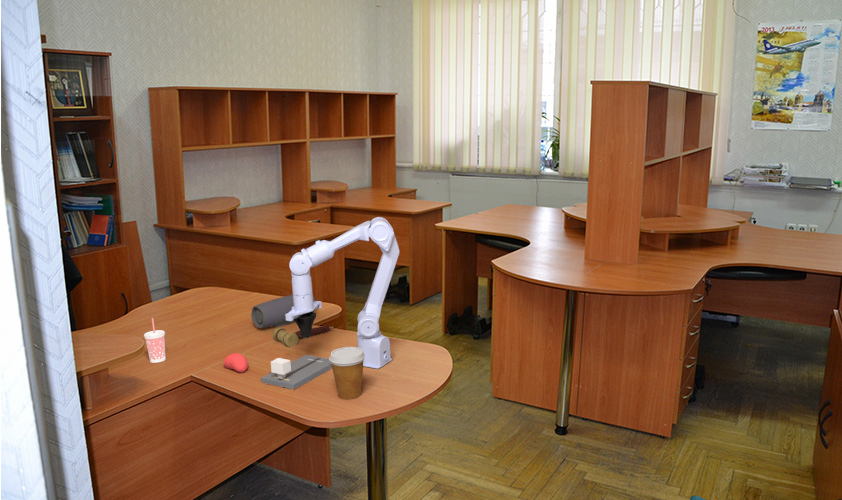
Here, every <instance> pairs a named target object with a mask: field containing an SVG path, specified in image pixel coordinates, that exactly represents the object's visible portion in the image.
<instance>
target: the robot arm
mask: <svg viewBox="0 0 842 500" xmlns="http://www.w3.org/2000/svg"><path fill="white" fill-rule="evenodd" d="M370 239H371V240H372V242H374V243H375V244H377V246H379V248H380V251H381V253H382V255H381V257H380V261H379V263H378V266H377V269H376V272H375V276H374V279H373V281H372V283H371V287H370V291H369V294H368V296H367V299H366V301H365V304H364V307H362V308H363V309H362V310H361V311H360V312H358V315H357V322H358V323H357V332H356V341H357V345H356V346H357V348H360V349H362V350H363V353H364V354H365V358H364V360H363V367H366V368H372V369H380V368H382V367H384V366H385V365H386V364H387V365H388V363H390V362H391V361H393V358H391V342H390V339H389V337H388V336H385V335H383V334H382V332H381V330H380V323H379V322H380V321H379V320H380V316H381V311H382V306H383V304H384V300H385V298H386V296H387V295H386V294H387V292H388V289H389V286H390V283H391V280H392V277H393V274H394V271H395V267H396V265H397V262H398V258H399V256H400V251H401V250H400V248H399V243H398V241H397V238H396V235H395V232H394V228H393V227H392V225H391V224H390V222H389V221H388V220H387V219H386V218H385V217H382V216H377V217H374V218H372V219H371V220H367V221H365V222H362V223H360V224H358V225H356V226H354V227H353V228H351V229H349V230H347V231H346V232H344V233H342V234H341V235H339V236H337V237H335V238H334V239H332V240H327V239H326V240H325V239H323V240H320V239H318V240H316V241H315V244H313V245H311V246H309V247H307V248H302V249H301V250H300V251H301V252H300V251H299V252H295V254H293V255H292V257H291V258H290V261H289V264H288V265H289V269H290V271H291V274H290V275H291V287H292V288H291V289H292V295H293V301H294V306H293V307H292V310H291V311H290V312H289V313H287V314H285V316H286V321H293V319H294V321H295V322H294V323H296V325H297V327H298V330H299V331H300V332H301V335H302V337H303V339H309V338H311V337H312V336H311V330H312V328H313V325H314V322H315V320H316V318H317V312H315V311H316V310H317V309H322V300H321V301H320V300H315V302H313V297H314V295H313V283H312V276H311V268H315V267H317V266H319V265H321V264H323V263H325V262H326V261H328V260H331V259H332V258H333V257H334V256H335V252H336V251H338V250H340V249H343V248H344V247H347V246H348V245H351V244H352V243H355V242H357V241H359V240H360V241H364V242H369V241H370ZM315 309H316V310H315ZM313 310H315V311H314V312H312V311H313Z"/></svg>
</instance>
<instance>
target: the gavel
mask: <svg viewBox="0 0 842 500" xmlns="http://www.w3.org/2000/svg"><path fill="white" fill-rule="evenodd" d="M331 330H332V331H333V330H334V326H330V325H329V326H327V325H322V326H317V327H312V330H311V336H310V337H313V335H314V336H317V334H318V335H322V334H325V332H326V333H329V332H330V331H331ZM328 331H329V332H328ZM321 333H322V334H321ZM272 338H273V340H275V341H277V342H280V343H283V344H284V345H285V346H286V347H289V348H292V347H295V346H297V345H298V343H299V339H302V338H303V337H302V335H301V332H300V330H297V331H294V332H290V331H287V330H286V329H285V328H283V327H281V326H280V327H275V329H274V331H273V332H272ZM303 339H304V338H303ZM294 345H295V346H294ZM291 346H292V347H291Z"/></svg>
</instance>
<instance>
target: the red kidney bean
mask: <svg viewBox="0 0 842 500" xmlns="http://www.w3.org/2000/svg"><path fill="white" fill-rule="evenodd" d="M223 365H224V367H225V368H226V369H230V370H234V371H236V372H237V373H245V372H246V371H247V369H248V366H249V362H248V359H247V358H246V357H245V355H243V354H241V353H238V352H235V353H229V355H226V357H225V358H224V360H223Z"/></svg>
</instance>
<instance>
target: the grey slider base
mask: <svg viewBox="0 0 842 500" xmlns="http://www.w3.org/2000/svg"><path fill="white" fill-rule="evenodd" d="M290 363H291V371H290V372H288V373H286V377H285V378H283V379H279V378H278V374H277V373H272V371H271V372H270V373H267V374H266V375H264V376H262V377H260V381H261V382H263V383H262V384H264V383H267V384H266V385H269V384H271V386H273V385H276V386H275V387H278V386H281V387H280V388H282V387H285V388H284V389H287V388H289V390H291V389H295V390H296V388H297V387H298V388H300V387H302V386H304V385H305V384H307V383H309V382H311V381H312V380H314V379H315V378H317V377H319V376H321V375H323V374H324V373H326V372H328V371H330V370H331V369H332V364H331V362H330V360H329V358H327V357H321V356H315V355H311V354H304V355H302V356H301V357H299V358H296V359H295V360H293V361H290ZM308 381H309V382H308ZM301 385H302V386H301ZM299 386H300V387H299ZM298 388H297V389H298Z"/></svg>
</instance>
